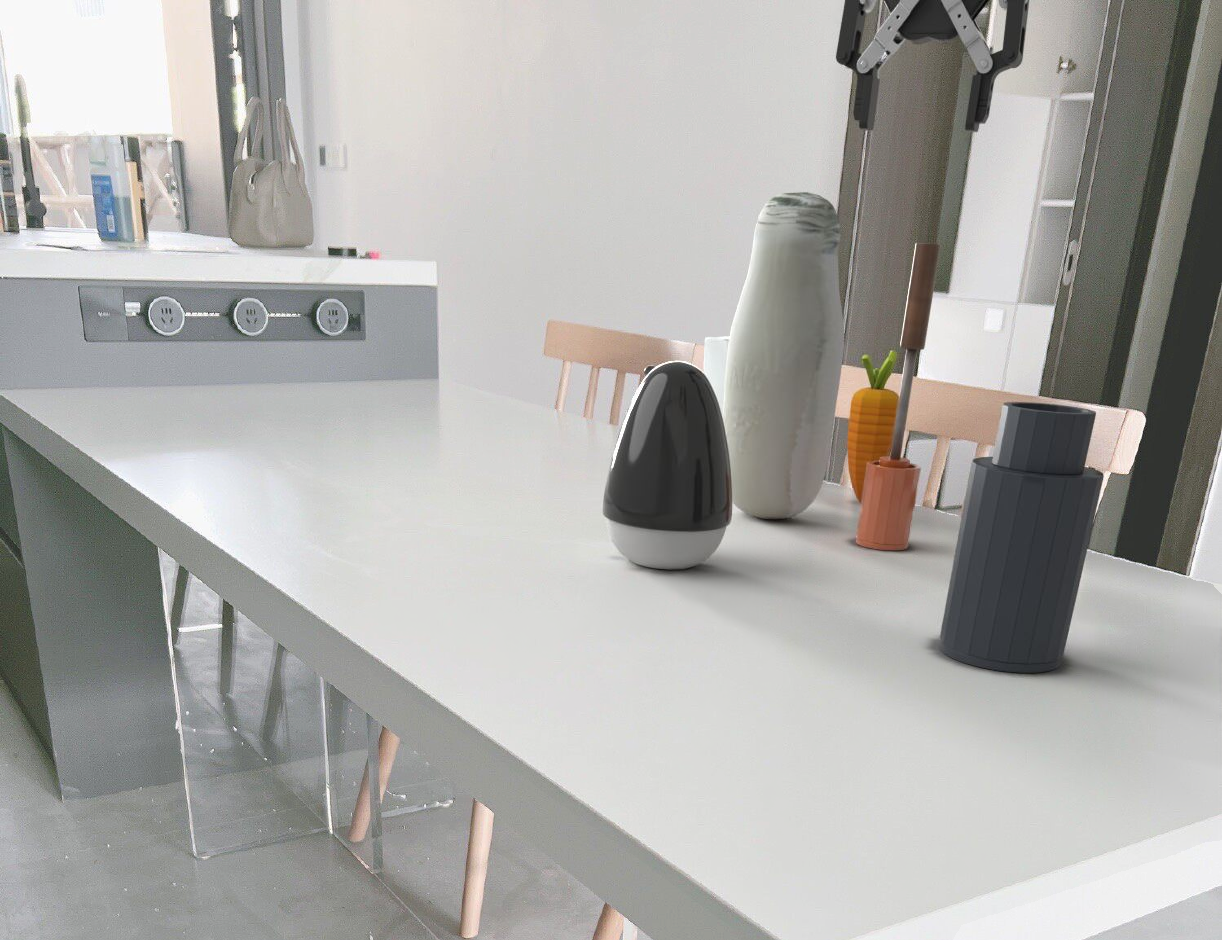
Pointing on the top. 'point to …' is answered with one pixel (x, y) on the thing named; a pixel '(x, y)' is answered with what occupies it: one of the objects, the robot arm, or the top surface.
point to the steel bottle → (1023, 541)
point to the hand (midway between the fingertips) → (917, 130)
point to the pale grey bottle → (785, 359)
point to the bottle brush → (913, 338)
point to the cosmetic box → (716, 365)
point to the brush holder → (887, 506)
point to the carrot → (871, 422)
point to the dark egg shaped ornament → (670, 472)
